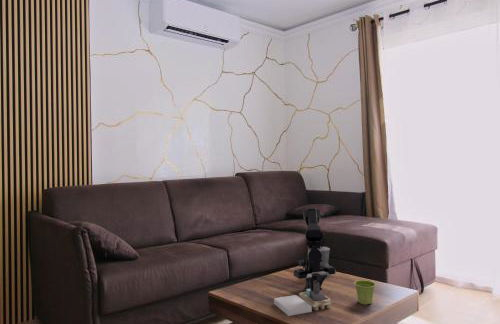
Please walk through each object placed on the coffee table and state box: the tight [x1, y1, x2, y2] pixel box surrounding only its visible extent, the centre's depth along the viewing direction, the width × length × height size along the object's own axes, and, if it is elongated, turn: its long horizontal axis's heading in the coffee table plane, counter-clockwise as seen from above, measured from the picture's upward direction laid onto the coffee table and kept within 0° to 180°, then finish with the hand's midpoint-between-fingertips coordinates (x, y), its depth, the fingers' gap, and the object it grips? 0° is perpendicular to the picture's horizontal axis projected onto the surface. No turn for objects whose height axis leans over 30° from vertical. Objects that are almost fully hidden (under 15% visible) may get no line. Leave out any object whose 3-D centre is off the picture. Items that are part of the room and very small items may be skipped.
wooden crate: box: [298, 281, 333, 311], centre depth 183 cm, size 9×13×10 cm
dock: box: [273, 294, 313, 317], centre depth 179 cm, size 11×15×2 cm
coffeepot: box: [321, 245, 331, 279], centre depth 224 cm, size 15×9×18 cm, turn 147°
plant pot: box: [354, 279, 377, 305], centre depth 184 cm, size 9×9×9 cm
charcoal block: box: [313, 292, 325, 302], centre depth 180 cm, size 4×3×3 cm
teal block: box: [305, 288, 311, 298], centre depth 186 cm, size 4×3×3 cm
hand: (315, 290), depth 183 cm, fingers closed on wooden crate, 3 cm apart
